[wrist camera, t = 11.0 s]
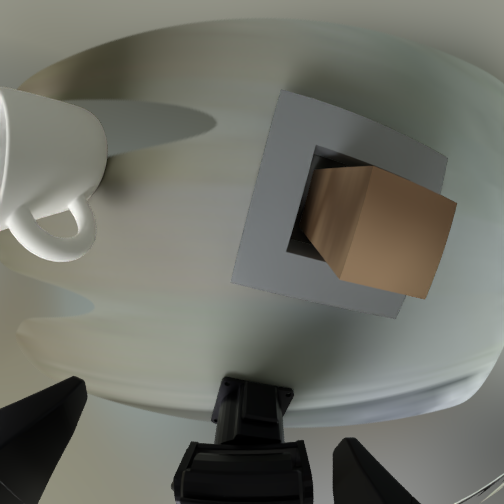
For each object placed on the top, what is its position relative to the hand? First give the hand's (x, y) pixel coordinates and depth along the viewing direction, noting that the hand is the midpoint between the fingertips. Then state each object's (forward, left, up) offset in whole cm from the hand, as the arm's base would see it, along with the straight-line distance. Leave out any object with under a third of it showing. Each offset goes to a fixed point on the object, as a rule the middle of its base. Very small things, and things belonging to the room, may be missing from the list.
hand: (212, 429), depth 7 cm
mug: (+5, +14, -13) cm, 20 cm away
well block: (+7, -5, -13) cm, 16 cm away
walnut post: (+7, -5, -13) cm, 16 cm away
